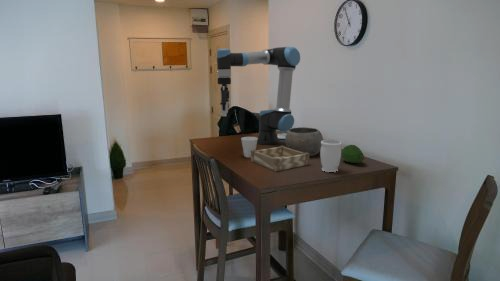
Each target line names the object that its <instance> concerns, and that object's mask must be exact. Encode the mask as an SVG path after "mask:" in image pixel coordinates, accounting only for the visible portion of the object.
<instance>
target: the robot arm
mask: <svg viewBox="0 0 500 281" xmlns="http://www.w3.org/2000/svg"><path fill="white" fill-rule="evenodd" d="M300 61H301V54H300V51H299V50H298V49H297V48H296V47H294V46H282V47H281V46H279V47H273V48H268V49H263V50H261V51H250V52H249V51H248V52H231V49H230V48H218V49H217V51H216V65H217V69H216V70H217V71H216V72H215V73H217V84H218V85H221V87H220V94H221V96H220V98H221V99H220V101H221V102H220V103H219V105H221V106H220V107H221V117H227V114H228V113H229V104H228V103H229V101H230V100H229V99H228V93H229V91H228V90H229V87H228V85H231V84H232V78H231V77H232V69H231V67H246V66H248V65H257V64H260V65H261V64H263V65H264V66H267V65H270V66H277V69H278V70H279V74H278V83H277V84H278V85H277V97H276V107H274V109H267V110H266V109H264V110H260V111H259V114H258V115H259V116H258V118H259V120H258V126H259V131H258V135H257V138H258V139H257V144H259V145H262V146H263V145H265V146H266V145H267V146H268V145H269V146H272V145H277V144H278V143H279V137H278V134H277V131H280V132H288V131H289V130H290V129H292V128H294V127H293V126H294V124H295V118H294V116H293V115H292V110H291V108H290V107H291V106H290V105H291V95H292V84H293V74H294V73H293V72H294V71H295V70H296V68H297V66H298V65H299V64H300Z"/></svg>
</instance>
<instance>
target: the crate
mask: <svg viewBox="0 0 500 281" xmlns="http://www.w3.org/2000/svg"><path fill="white" fill-rule="evenodd" d="M309 154H310V153H307V152H306V153H303V152H300V151H297V150H293V149H290V148H287V146H286V145H279V146H278V147H277V146H276V147H271V148H263V149H256V150H251V158H250V163H255V164H256V165H260V166H262V167H264V168H267V169H269V170H272V171H274V172H276V171H277V172H280V171H284V170H289V169H293V168H297V167H303V166H309V165H310V157H309Z"/></svg>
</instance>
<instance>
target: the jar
mask: <svg viewBox="0 0 500 281" xmlns="http://www.w3.org/2000/svg"><path fill="white" fill-rule="evenodd" d="M342 143H343V142H341V141H340V140H335V139H334V140H332V139H326V140H325V139H323V141H321V144H322V146H321V150H320V152H319V156H320V164H321V166H322V167H321V171H323V172H324V171H325V172H324V173H329V172H334V173H337V172H338V171H339V169H338V168H339V166H340V163H341V158H342V155H341V152H342V147H341V146H342ZM336 171H337V172H336Z"/></svg>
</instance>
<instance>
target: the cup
mask: <svg viewBox="0 0 500 281" xmlns="http://www.w3.org/2000/svg"><path fill="white" fill-rule="evenodd" d="M240 139H241V140H240V141H241V145H242V152H243V156H244V158H247V159H249V158H250V159H251V150H257V144H258V143H257V139H258V137H256V136H244V137H243V136H242V137H241V138H240Z"/></svg>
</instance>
